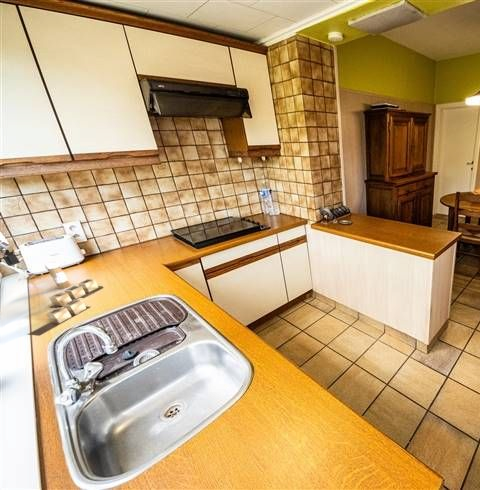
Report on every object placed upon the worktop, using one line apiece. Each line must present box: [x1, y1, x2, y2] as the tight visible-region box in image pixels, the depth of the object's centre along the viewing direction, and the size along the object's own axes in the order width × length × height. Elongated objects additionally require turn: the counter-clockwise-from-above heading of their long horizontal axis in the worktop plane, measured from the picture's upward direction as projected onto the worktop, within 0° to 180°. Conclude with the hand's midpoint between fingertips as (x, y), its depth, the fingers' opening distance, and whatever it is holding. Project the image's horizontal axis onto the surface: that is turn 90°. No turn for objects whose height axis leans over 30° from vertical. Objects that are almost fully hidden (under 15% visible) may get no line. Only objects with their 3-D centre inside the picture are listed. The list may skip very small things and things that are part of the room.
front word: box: [27, 299, 91, 337], centre depth 108 cm, size 18×6×6 cm, turn 171°
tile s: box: [77, 278, 99, 292], centre depth 129 cm, size 4×4×4 cm
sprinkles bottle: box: [44, 261, 71, 290], centre depth 133 cm, size 5×5×14 cm
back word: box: [48, 285, 104, 309], centre depth 125 cm, size 18×6×6 cm, turn 171°
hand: (5, 263), depth 109 cm, fingers open, 9 cm apart
